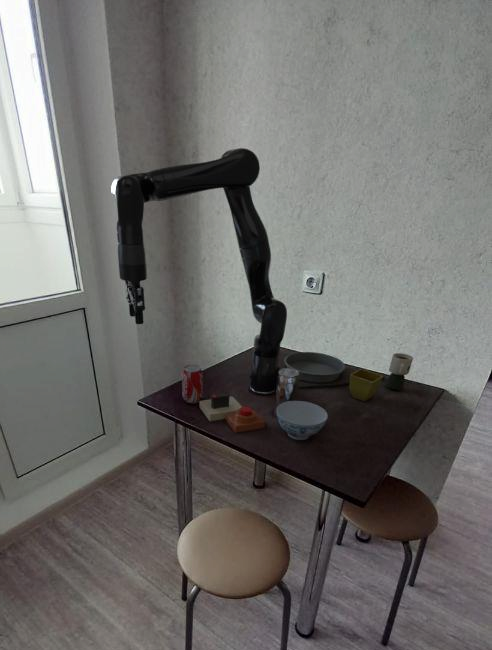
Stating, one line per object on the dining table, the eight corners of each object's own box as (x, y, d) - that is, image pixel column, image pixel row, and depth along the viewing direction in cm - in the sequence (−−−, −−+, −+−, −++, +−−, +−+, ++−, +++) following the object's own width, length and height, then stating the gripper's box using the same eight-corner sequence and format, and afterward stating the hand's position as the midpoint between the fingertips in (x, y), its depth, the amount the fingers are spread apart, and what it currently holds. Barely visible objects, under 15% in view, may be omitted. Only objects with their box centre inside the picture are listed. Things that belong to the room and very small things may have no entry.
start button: (248, 410, 128) (248, 405, 127) (253, 415, 125) (253, 410, 124) (238, 412, 126) (238, 407, 125) (242, 417, 123) (243, 412, 123)
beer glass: (280, 420, 130) (286, 378, 122) (268, 411, 135) (273, 369, 127) (297, 416, 133) (304, 374, 125) (285, 407, 138) (291, 366, 130)
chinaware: (290, 452, 115) (294, 428, 111) (265, 426, 126) (267, 405, 122) (333, 442, 120) (338, 419, 116) (305, 419, 132) (308, 397, 128)
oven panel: (231, 402, 140) (232, 395, 138) (245, 417, 131) (245, 409, 130) (199, 407, 136) (199, 400, 134) (210, 422, 127) (211, 415, 126)
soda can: (199, 406, 137) (200, 373, 130) (179, 403, 138) (179, 370, 132) (204, 397, 143) (205, 365, 136) (185, 394, 144) (185, 363, 137)
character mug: (405, 395, 150) (415, 362, 144) (385, 392, 152) (394, 360, 145) (402, 384, 159) (411, 352, 153) (383, 381, 161) (391, 350, 154)
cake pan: (271, 372, 165) (272, 361, 162) (302, 357, 181) (303, 347, 179) (325, 390, 151) (327, 379, 149) (353, 372, 168) (355, 362, 165)
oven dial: (226, 404, 133) (227, 392, 131) (228, 406, 132) (229, 394, 129) (211, 406, 131) (211, 394, 129) (213, 409, 130) (213, 397, 128)
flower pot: (378, 398, 147) (384, 375, 143) (367, 405, 142) (373, 382, 137) (355, 390, 152) (361, 368, 148) (344, 397, 147) (349, 374, 142)
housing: (253, 415, 132) (254, 405, 130) (264, 427, 126) (265, 416, 124) (225, 420, 129) (226, 409, 127) (235, 432, 123) (236, 421, 120)
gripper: (151, 265, 106) (154, 325, 115) (140, 257, 118) (143, 312, 126) (123, 265, 104) (128, 327, 112) (114, 257, 115) (119, 314, 123)
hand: (136, 319), depth 119 cm, fingers open, 8 cm apart
